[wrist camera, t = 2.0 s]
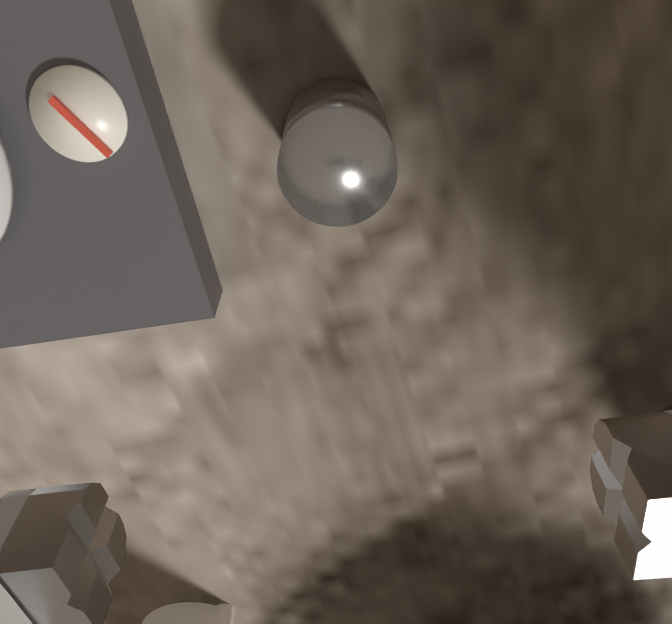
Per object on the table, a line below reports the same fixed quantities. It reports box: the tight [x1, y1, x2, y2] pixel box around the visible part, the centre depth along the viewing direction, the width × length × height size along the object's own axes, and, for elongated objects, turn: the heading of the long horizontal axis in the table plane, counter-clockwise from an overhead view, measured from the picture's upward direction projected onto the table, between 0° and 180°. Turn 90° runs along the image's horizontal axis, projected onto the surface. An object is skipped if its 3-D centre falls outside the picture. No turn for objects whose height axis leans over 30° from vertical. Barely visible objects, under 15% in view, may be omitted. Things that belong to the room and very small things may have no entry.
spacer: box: [277, 78, 398, 227], centre depth 24 cm, size 4×4×5 cm
